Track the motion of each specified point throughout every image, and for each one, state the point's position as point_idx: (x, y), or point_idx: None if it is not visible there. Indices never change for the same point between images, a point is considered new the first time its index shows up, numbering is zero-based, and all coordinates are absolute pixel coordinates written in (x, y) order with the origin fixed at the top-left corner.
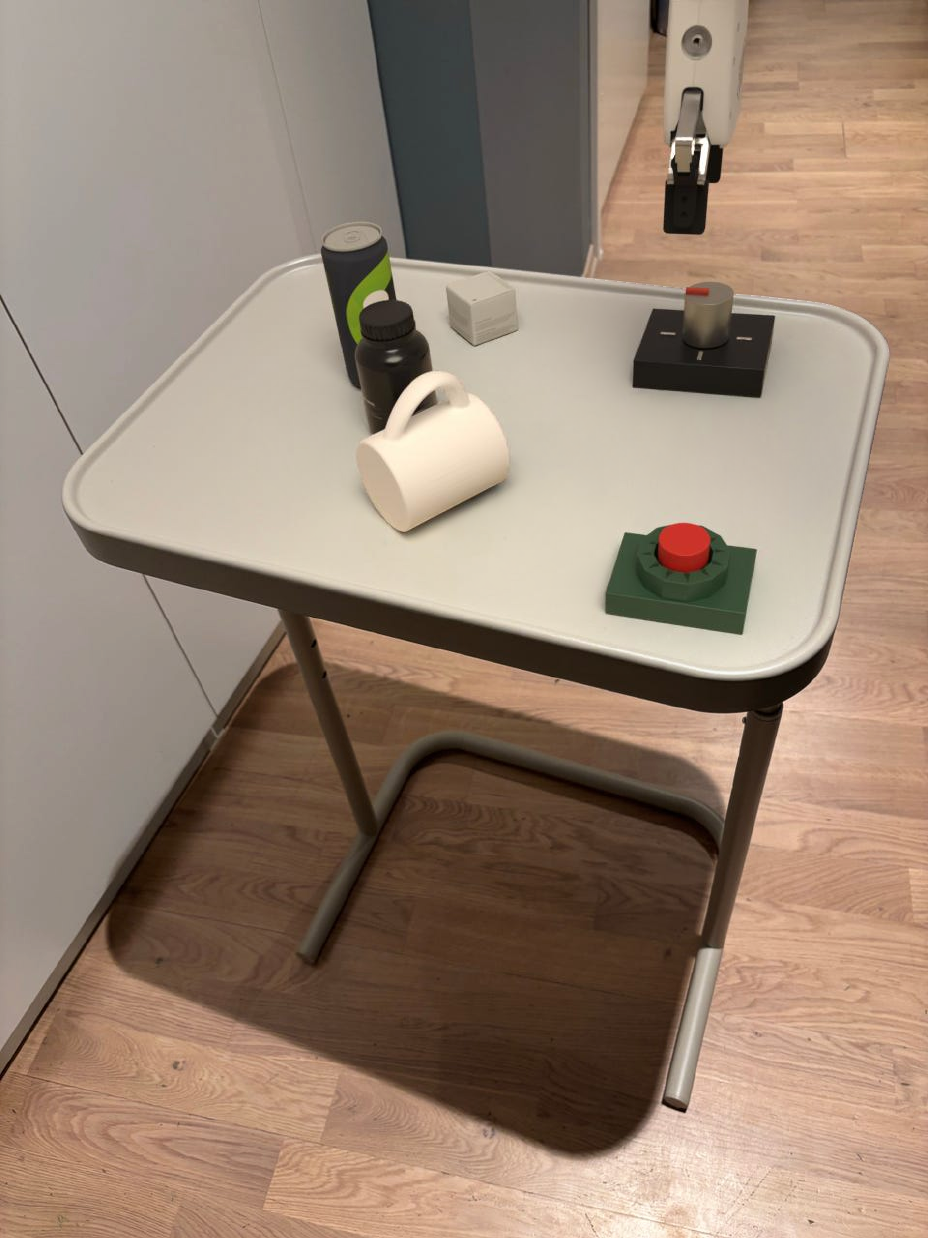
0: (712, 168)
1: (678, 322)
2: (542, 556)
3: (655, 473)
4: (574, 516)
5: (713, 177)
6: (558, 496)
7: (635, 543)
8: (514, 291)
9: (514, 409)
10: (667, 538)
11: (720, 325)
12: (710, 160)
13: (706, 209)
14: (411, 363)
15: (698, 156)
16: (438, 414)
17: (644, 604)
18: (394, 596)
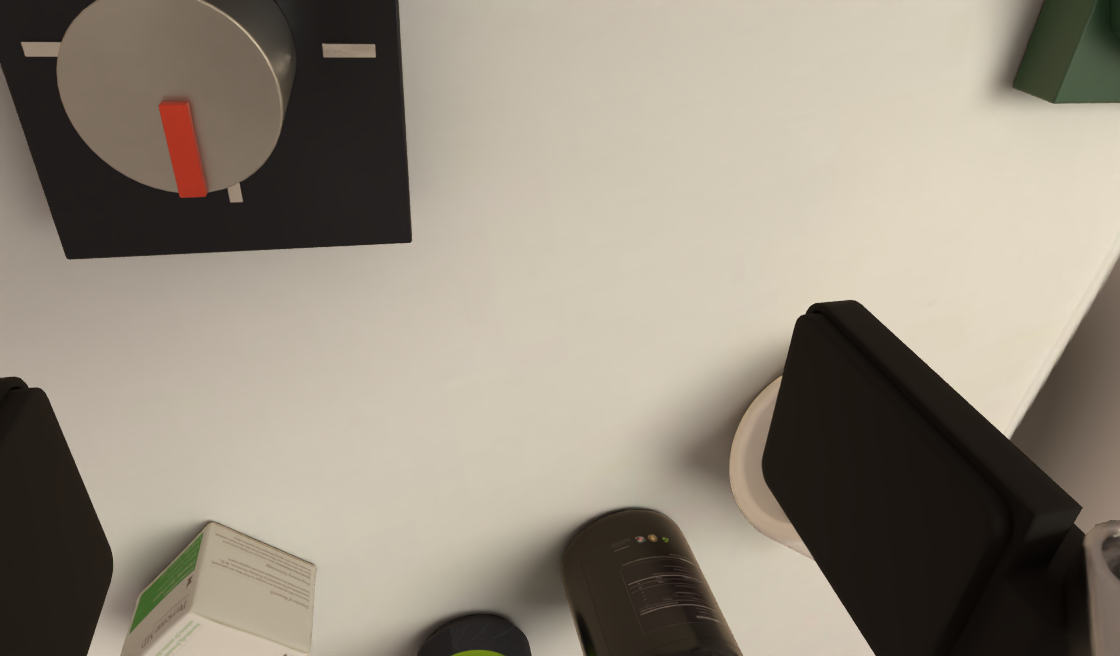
0: (23, 490)
1: None
2: (988, 230)
3: (766, 73)
4: (891, 207)
5: (42, 430)
6: (830, 252)
7: (1094, 74)
8: (196, 607)
9: (543, 416)
10: None
11: (256, 7)
12: (6, 557)
13: (921, 373)
14: (729, 653)
15: (28, 653)
16: None
17: None
18: (1028, 398)
